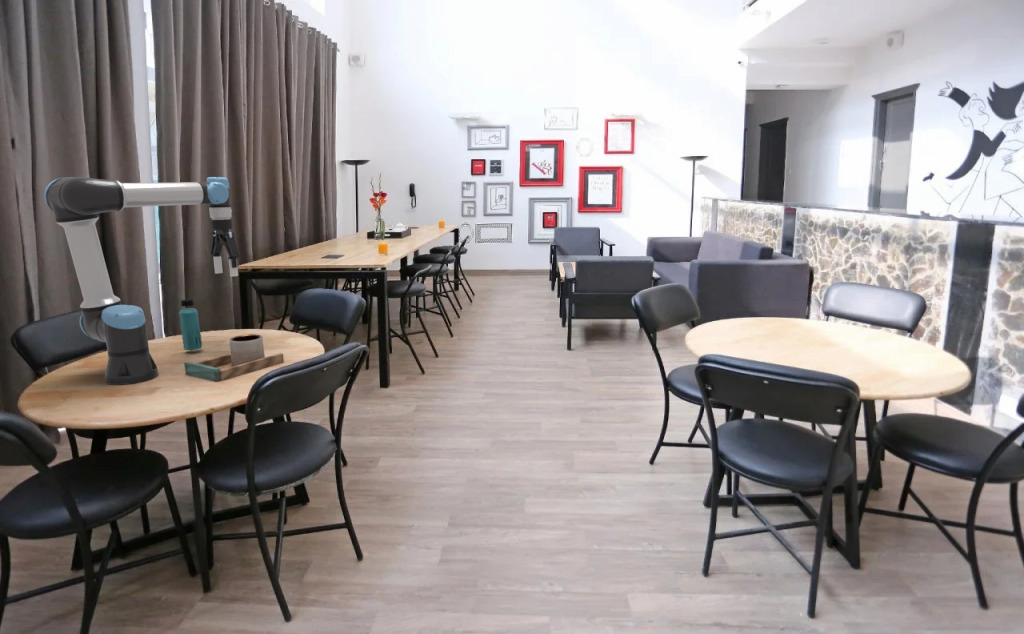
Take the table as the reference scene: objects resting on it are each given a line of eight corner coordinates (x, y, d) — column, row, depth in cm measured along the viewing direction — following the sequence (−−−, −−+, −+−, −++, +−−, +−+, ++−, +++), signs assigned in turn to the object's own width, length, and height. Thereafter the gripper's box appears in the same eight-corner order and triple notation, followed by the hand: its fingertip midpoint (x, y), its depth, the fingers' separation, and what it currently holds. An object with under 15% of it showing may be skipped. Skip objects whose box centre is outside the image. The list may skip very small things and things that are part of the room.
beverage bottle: (198, 354, 243) (191, 301, 239) (180, 354, 243) (173, 301, 239) (206, 349, 250) (200, 298, 245) (189, 349, 250) (182, 298, 246)
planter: (224, 366, 226) (221, 339, 224) (250, 358, 236) (247, 332, 234) (246, 370, 221) (244, 342, 219) (272, 362, 231) (269, 335, 229)
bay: (217, 381, 209) (216, 369, 208) (185, 374, 218) (184, 362, 217) (283, 361, 231) (282, 350, 230) (252, 355, 239) (251, 345, 239)
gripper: (245, 219, 242) (250, 276, 246) (217, 217, 259) (222, 271, 263) (225, 220, 237) (231, 278, 241) (197, 218, 253) (203, 272, 257)
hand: (226, 274), depth 252 cm, fingers open, 13 cm apart
